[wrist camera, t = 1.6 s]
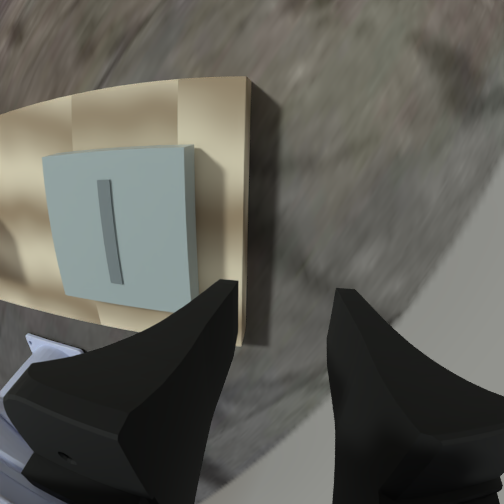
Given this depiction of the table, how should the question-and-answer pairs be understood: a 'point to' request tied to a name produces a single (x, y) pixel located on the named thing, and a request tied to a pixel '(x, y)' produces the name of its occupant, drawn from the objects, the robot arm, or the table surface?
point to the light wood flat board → (126, 135)
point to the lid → (125, 224)
